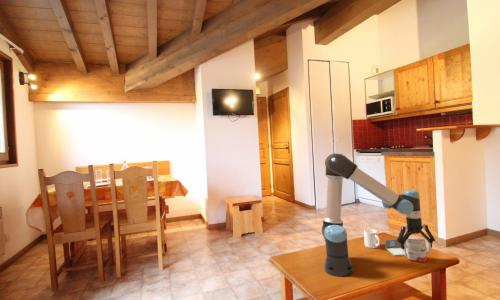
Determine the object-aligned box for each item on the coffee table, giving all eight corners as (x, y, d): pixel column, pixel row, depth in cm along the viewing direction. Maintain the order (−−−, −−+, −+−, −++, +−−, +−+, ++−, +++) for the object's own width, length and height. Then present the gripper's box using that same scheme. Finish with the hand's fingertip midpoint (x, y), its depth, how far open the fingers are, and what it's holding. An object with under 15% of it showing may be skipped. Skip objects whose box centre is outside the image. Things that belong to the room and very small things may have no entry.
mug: (385, 249, 169) (384, 233, 169) (375, 251, 167) (373, 235, 167) (372, 243, 181) (370, 228, 181) (362, 245, 178) (360, 230, 179)
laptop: (394, 256, 157) (393, 246, 158) (385, 249, 169) (384, 240, 170) (422, 254, 156) (421, 245, 156) (411, 247, 168) (410, 238, 168)
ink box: (427, 260, 149) (425, 239, 149) (424, 262, 146) (422, 241, 146) (410, 256, 156) (408, 236, 156) (407, 258, 153) (405, 238, 153)
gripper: (394, 220, 148) (397, 257, 148) (440, 217, 147) (444, 255, 146) (388, 217, 156) (391, 252, 155) (431, 214, 154) (435, 250, 154)
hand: (417, 254), depth 151 cm, fingers open, 13 cm apart
